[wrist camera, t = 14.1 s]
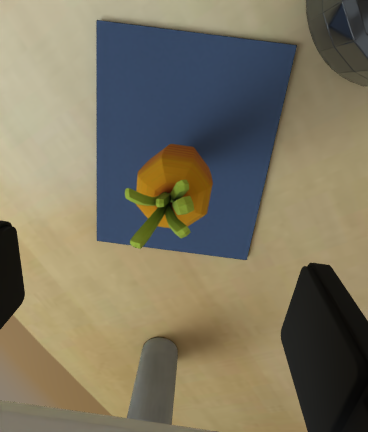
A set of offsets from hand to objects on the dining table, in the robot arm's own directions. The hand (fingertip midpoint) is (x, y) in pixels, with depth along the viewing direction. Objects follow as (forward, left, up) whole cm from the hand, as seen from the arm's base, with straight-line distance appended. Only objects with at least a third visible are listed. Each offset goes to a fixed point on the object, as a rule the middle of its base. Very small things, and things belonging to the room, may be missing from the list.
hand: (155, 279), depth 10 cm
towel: (0, 0, -20) cm, 20 cm away
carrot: (0, 0, -20) cm, 20 cm away
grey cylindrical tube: (+25, 0, -20) cm, 32 cm away
